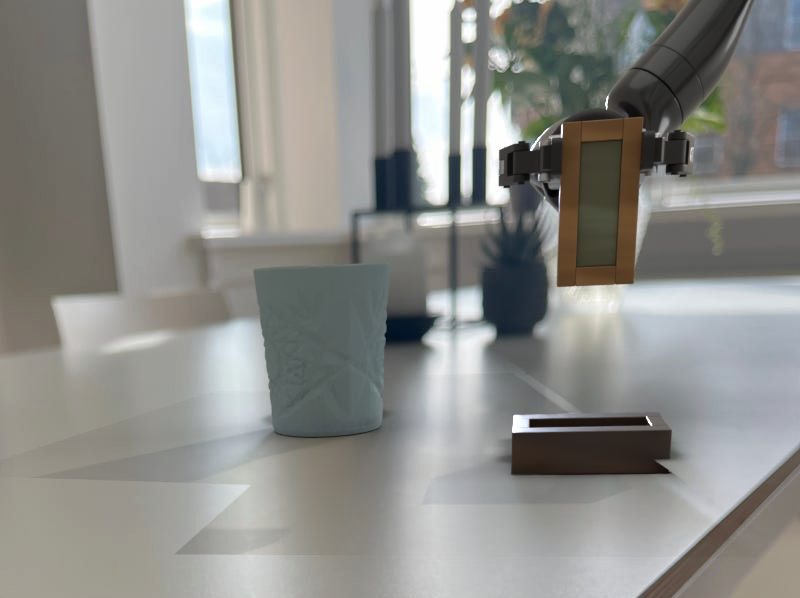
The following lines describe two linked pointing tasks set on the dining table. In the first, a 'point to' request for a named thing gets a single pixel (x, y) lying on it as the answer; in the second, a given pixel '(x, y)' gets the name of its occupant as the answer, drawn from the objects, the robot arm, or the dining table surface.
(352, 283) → the pale blue-green cup
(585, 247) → the frame
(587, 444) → the holder
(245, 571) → the dining table surface
